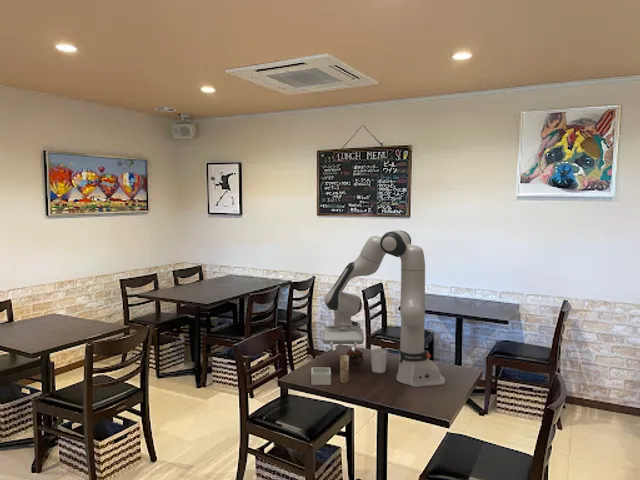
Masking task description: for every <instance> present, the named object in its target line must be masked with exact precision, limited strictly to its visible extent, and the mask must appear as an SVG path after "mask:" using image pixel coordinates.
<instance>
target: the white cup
mask: <svg viewBox="0 0 640 480" xmlns="http://www.w3.org/2000/svg"><path fill="white" fill-rule="evenodd" d="M387 355H388V350H386V349H383V348H374V349H371V350H370V360H371V362H370V363H371V371H372V372H373V373H377V374H382V373H385V372H386V369H387V367H386V366H387Z"/></svg>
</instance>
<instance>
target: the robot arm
mask: <svg viewBox="0 0 640 480" xmlns="http://www.w3.org/2000/svg"><path fill="white" fill-rule="evenodd" d="M411 238H412V237H411V236H410V234H409V233H408V232H406V231H404V230H397V229H396V230H391V231H387V232H386V233H384V234H383V235H382V236H378V235H371V236H370V237H369V238H368V239H367V240H366V242H365V244H364V245H363V246H362V249H361V251H360V253H359V255H358V256H357V258H356V259H355V260H354V261H352V262H349V263H348V264H347V265H346V266H345V268H344V269H343V271H342V273H341V274H340V275H339V277H338V279H337V280H336V281H335V283H334V285H333V286H332V288H331V289H330V290H329V291H328V292H327V293H326V296H325V300H324V303H325V305H326V307H327V309H329V310H330V311H333V316H334V317H333V318H334V319H333V325H326V326H325V325H324V326H323V327H322V329H321V333H322V343H323V344H324V345H329V347H330V348H331V351H332V353H333V352H334V353H336V346H334V345H353V347H352V346H351V348H352V352H355V349H356V348H357V346H358V345H363V344H364V342H365V338H364V337H365V336H364V331H363V329H362V328H361V323H360V322H358V321H354V320H352V317H354V316H356V315H357V314H359V313H360V312H361V311H362V307H363V303H362V300H361V297H360V296H358V295H355V294H352V293H348V292H345V291H344V290H345V288H346V287H347V285H348V284H349V282H350V281H351V280H352V279H353V278H356V277H366V276H371V275H374V274H375V273H376V272H377V271H378V270H379V268H380V267H381V264H382V262H383V260H384V257H385V256H386V254H387V255H391V256H392V257H395V258H400V267H401V268H400V303H399V304H400V305H399V308H400V309H399V314H400V318H401V319H400V341H399V342H400V344H399V351H398V362H399V363H398V370H397V371H398V372H397V373H396V377H395V378H396V380H397V381H398V382H399V383H402V384H404V385H409V386H411V387H413V388H419V387H431V386H443V385H445V384H446V378H445V377H444V376H443V375H442V374H441V372H440V368H439V367H438V365H437V364H436V363H434V362H433V361H432V360H430V358H432V355H431V354H430V353H429V352H428V351H427V350H425V323H426V322H425V318H426V317H425V315H426V305H425V304H426V259H425V253H424V250H423V248H422V247H420V246H418V245H414V244H412V239H411Z"/></svg>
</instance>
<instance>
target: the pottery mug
mask: <svg viewBox="0 0 640 480" xmlns="http://www.w3.org/2000/svg"><path fill="white" fill-rule="evenodd" d="M346 355H348V356H349V365H351V366H352V365H353V363H354V364H358V363H359V360H361V361H360V362H363V360H364V353H363V351H361V350H359V349H356V348H355V352H352V347H351V348H349V350H348V351H347V352H346Z"/></svg>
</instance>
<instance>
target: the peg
mask: <svg viewBox="0 0 640 480" xmlns="http://www.w3.org/2000/svg"><path fill="white" fill-rule="evenodd" d="M339 358H340V359H339V361H340V362H339V364H340V365H339V368H340V369H339V382H340V383H342V384H343V383H344V384H346V383H347V384H348V383H349V381H350V380H349V379H350V376H349V374H350V373H349V372H350V371H349V370H350V367H349V366H350V364H349V356H348V355H347V354H341V355H340V357H339Z"/></svg>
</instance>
